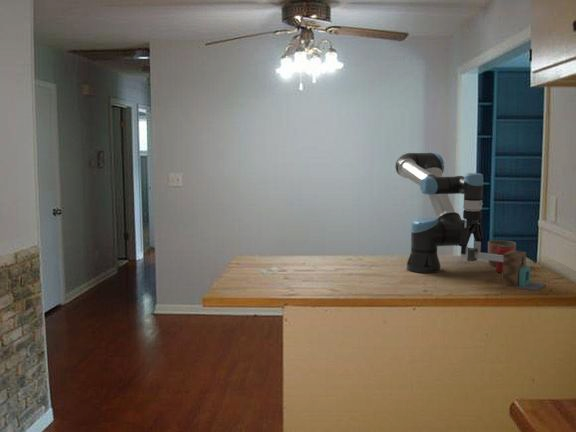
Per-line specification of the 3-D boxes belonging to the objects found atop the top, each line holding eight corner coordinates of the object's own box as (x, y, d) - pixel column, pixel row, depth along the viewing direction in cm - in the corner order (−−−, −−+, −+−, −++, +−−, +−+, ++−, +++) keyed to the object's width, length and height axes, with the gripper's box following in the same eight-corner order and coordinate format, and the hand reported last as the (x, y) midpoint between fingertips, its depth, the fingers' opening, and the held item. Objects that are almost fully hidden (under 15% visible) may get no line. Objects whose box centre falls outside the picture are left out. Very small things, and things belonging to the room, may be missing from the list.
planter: (520, 265, 276) (521, 242, 274) (503, 269, 269) (505, 245, 267) (497, 261, 286) (498, 239, 284) (481, 264, 279) (482, 241, 277)
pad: (516, 288, 235) (516, 286, 235) (526, 282, 245) (526, 281, 244) (536, 291, 231) (536, 289, 231) (545, 285, 240) (546, 283, 240)
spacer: (518, 285, 237) (519, 268, 236) (524, 282, 243) (525, 265, 242) (523, 286, 236) (524, 269, 235) (529, 282, 241) (530, 266, 240)
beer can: (512, 273, 260) (513, 247, 258) (496, 273, 261) (498, 246, 259) (510, 270, 266) (511, 244, 265) (494, 269, 267) (495, 243, 266)
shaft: (464, 260, 253) (464, 248, 252) (468, 258, 256) (468, 247, 255) (518, 267, 238) (519, 255, 237) (522, 266, 241) (522, 254, 240)
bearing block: (502, 284, 241) (503, 253, 239) (509, 280, 247) (511, 250, 246) (517, 287, 237) (518, 255, 235) (524, 283, 244) (526, 252, 242)
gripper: (469, 213, 238) (466, 265, 241) (492, 207, 257) (490, 255, 260) (451, 212, 243) (449, 262, 246) (475, 206, 262) (473, 253, 265)
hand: (470, 258), depth 253 cm, fingers open, 13 cm apart
